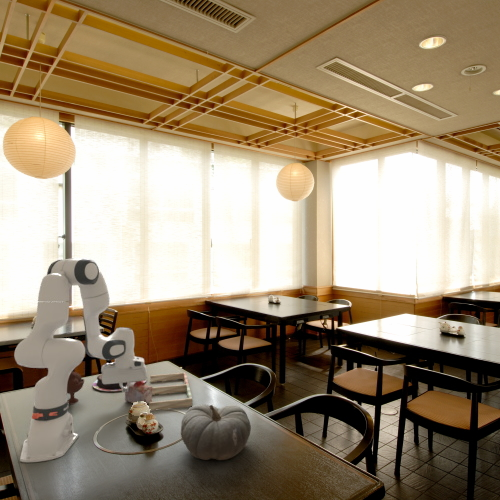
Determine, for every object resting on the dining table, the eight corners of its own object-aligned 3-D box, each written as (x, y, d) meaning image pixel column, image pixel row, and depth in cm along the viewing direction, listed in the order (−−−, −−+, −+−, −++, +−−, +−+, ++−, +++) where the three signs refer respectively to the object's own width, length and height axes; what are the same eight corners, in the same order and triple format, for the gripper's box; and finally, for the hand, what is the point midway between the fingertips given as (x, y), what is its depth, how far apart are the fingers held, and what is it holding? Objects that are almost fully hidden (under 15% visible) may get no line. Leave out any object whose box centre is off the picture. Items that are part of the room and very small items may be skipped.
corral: (192, 406, 180) (192, 398, 180) (149, 411, 175) (149, 403, 175) (185, 378, 218) (185, 372, 218) (150, 381, 214) (150, 375, 214)
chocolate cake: (157, 380, 216) (157, 369, 216) (116, 397, 193) (116, 384, 193) (123, 372, 231) (123, 361, 231) (81, 387, 207) (80, 374, 207)
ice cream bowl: (78, 406, 181) (78, 373, 181) (55, 406, 182) (54, 374, 181) (88, 397, 192) (88, 367, 192) (66, 397, 192) (65, 367, 192)
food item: (155, 402, 184) (155, 381, 184) (142, 408, 178) (142, 387, 178) (135, 397, 192) (135, 377, 192) (122, 402, 185) (122, 381, 185)
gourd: (172, 432, 148) (180, 388, 148) (233, 432, 157) (241, 390, 156) (184, 475, 125) (193, 423, 124) (255, 472, 134) (264, 423, 133)
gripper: (100, 365, 177) (100, 396, 177) (147, 362, 182) (147, 391, 182) (102, 361, 183) (102, 391, 183) (147, 358, 188) (147, 387, 188)
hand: (125, 391), depth 183 cm, fingers closed
